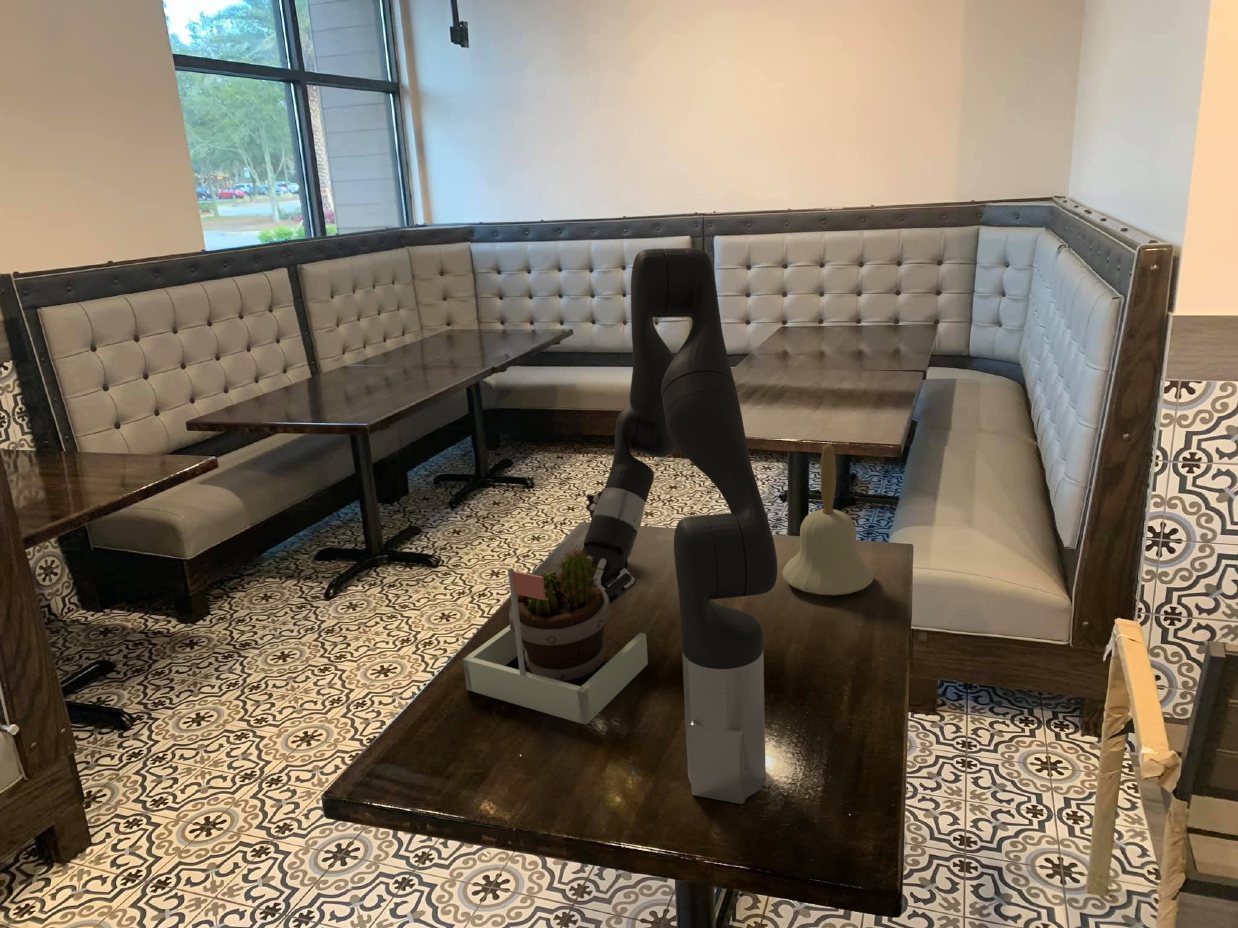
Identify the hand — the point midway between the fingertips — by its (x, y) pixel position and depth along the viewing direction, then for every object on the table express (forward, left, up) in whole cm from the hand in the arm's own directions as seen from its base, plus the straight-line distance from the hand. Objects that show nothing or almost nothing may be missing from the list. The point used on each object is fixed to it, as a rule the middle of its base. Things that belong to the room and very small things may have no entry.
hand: (579, 627), depth 135 cm
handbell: (+33, -32, -5) cm, 46 cm away
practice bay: (-6, +1, -5) cm, 8 cm away
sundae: (+36, +10, -5) cm, 38 cm away
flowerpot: (-4, +1, -5) cm, 6 cm away
